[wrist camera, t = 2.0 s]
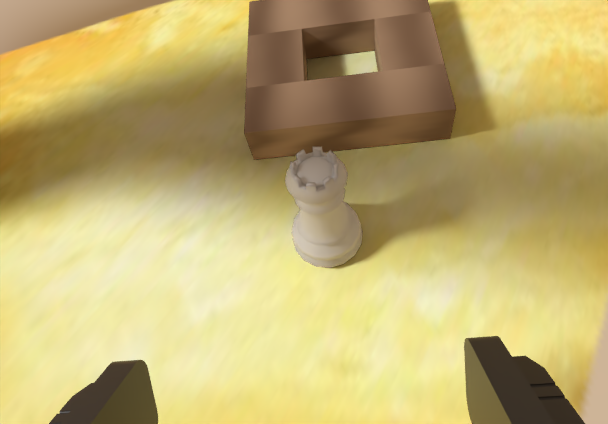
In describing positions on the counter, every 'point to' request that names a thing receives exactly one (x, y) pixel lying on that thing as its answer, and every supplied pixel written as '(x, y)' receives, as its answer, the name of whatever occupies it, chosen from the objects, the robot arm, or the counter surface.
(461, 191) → the counter surface
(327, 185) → the rook chess piece
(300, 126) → the socket board
